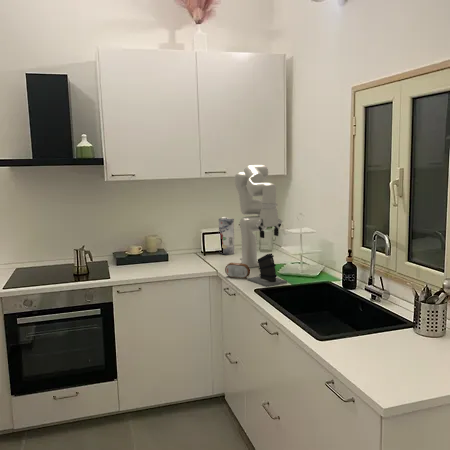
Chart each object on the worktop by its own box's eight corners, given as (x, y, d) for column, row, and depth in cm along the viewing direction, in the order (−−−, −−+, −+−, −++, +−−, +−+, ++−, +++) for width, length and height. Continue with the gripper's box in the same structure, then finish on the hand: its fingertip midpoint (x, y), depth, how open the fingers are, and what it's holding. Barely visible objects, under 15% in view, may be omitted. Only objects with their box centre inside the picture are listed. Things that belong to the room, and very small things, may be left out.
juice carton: (228, 251, 351) (227, 215, 347) (236, 254, 342) (235, 216, 338) (217, 253, 346) (217, 216, 342) (225, 255, 337) (224, 217, 333)
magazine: (274, 280, 256) (267, 254, 259) (261, 286, 266) (254, 260, 270) (280, 279, 258) (272, 253, 261) (267, 284, 268) (260, 259, 272)
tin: (250, 278, 273) (250, 263, 272) (248, 279, 271) (248, 264, 269) (226, 275, 280) (226, 261, 278) (224, 277, 277) (224, 263, 276)
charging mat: (247, 280, 269) (247, 274, 268) (267, 276, 276) (267, 270, 276) (266, 286, 254) (266, 280, 253) (286, 282, 261) (286, 276, 261)
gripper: (277, 204, 270) (277, 234, 272) (252, 206, 261) (252, 237, 264) (285, 205, 263) (285, 236, 266) (260, 208, 255) (260, 239, 257)
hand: (269, 236), depth 265 cm, fingers open, 9 cm apart
